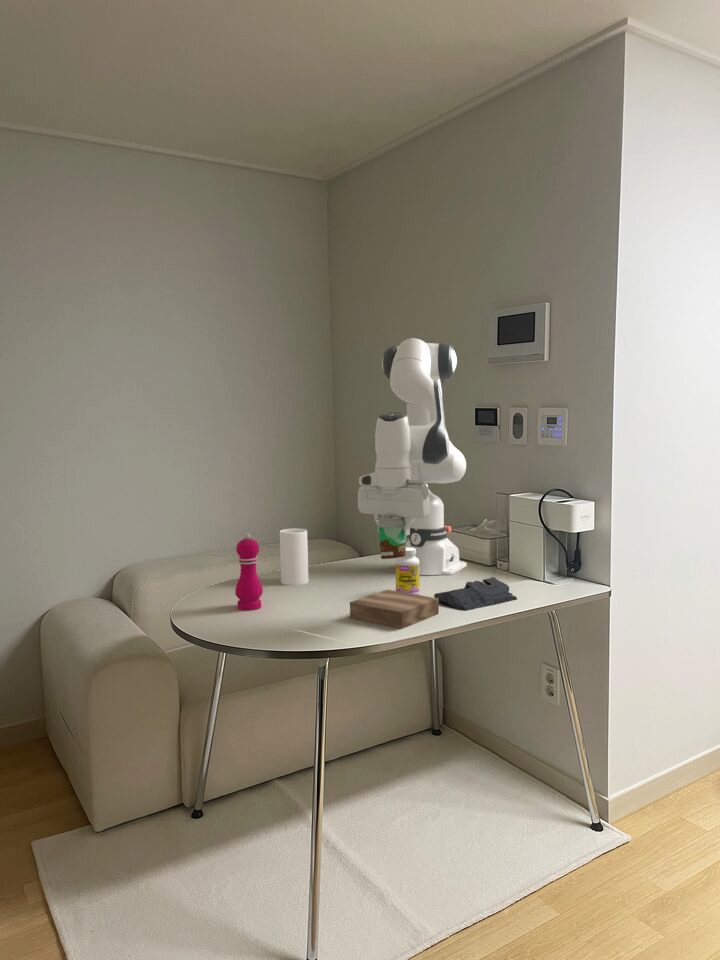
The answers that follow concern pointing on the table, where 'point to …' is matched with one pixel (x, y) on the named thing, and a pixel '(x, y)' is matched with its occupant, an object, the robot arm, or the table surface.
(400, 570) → the supplement bottle
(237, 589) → the pepper mill
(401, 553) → the food container
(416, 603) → the walnut base
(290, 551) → the cup
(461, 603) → the folded dark cloth
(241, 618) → the table surface
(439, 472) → the robot arm
